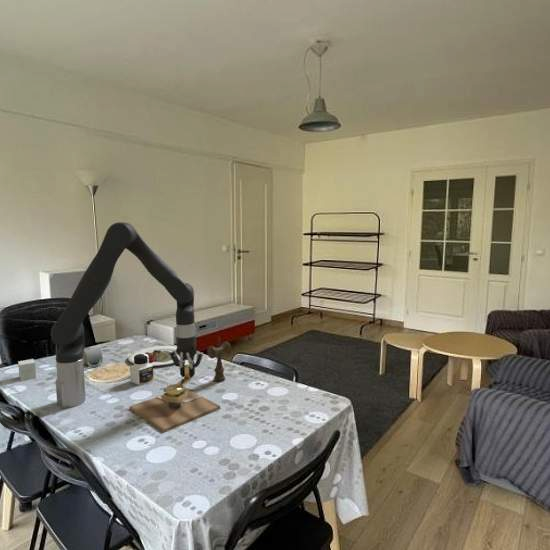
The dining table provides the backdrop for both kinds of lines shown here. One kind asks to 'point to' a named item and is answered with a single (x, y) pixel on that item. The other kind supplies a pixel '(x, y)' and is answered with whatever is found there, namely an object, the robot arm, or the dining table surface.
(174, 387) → the gold piece
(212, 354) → the kendama
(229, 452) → the dining table surface
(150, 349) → the plated food
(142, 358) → the medicine bottle
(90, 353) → the ceramic mug
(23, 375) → the product box
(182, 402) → the post base
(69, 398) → the robot arm
